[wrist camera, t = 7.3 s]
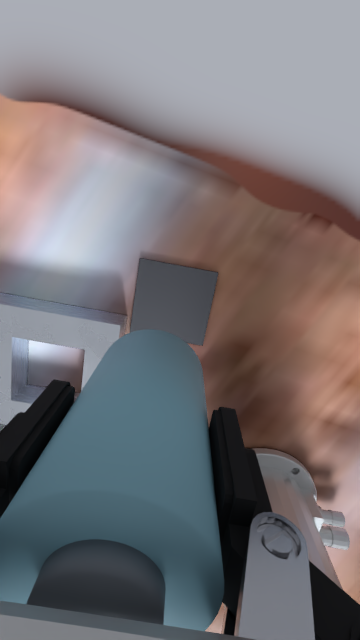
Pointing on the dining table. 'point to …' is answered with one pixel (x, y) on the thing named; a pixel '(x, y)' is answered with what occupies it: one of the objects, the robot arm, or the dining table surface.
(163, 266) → the mat
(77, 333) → the frame
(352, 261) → the dining table surface
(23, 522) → the blue cylinder
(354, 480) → the dining table surface
